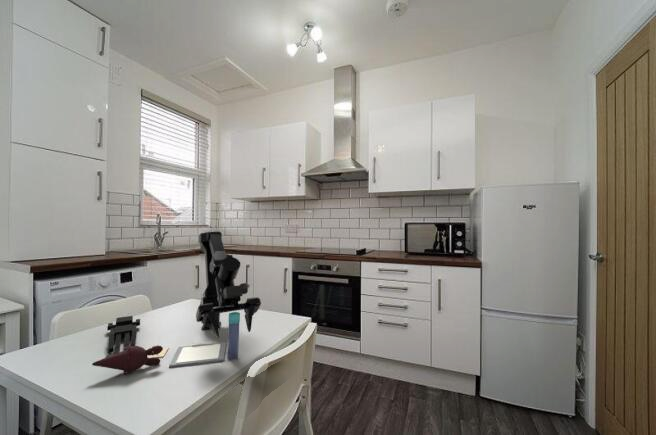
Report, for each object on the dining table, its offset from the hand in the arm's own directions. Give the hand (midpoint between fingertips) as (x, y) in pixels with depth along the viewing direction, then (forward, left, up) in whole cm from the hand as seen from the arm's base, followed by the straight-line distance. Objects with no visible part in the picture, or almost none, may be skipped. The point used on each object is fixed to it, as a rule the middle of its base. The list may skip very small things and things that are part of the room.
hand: (234, 334), depth 80 cm
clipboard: (-5, -10, -7) cm, 13 cm away
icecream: (0, -26, -7) cm, 27 cm away
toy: (-20, -35, -8) cm, 41 cm away
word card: (-9, -22, -7) cm, 25 cm away
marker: (-1, 0, -7) cm, 7 cm away
